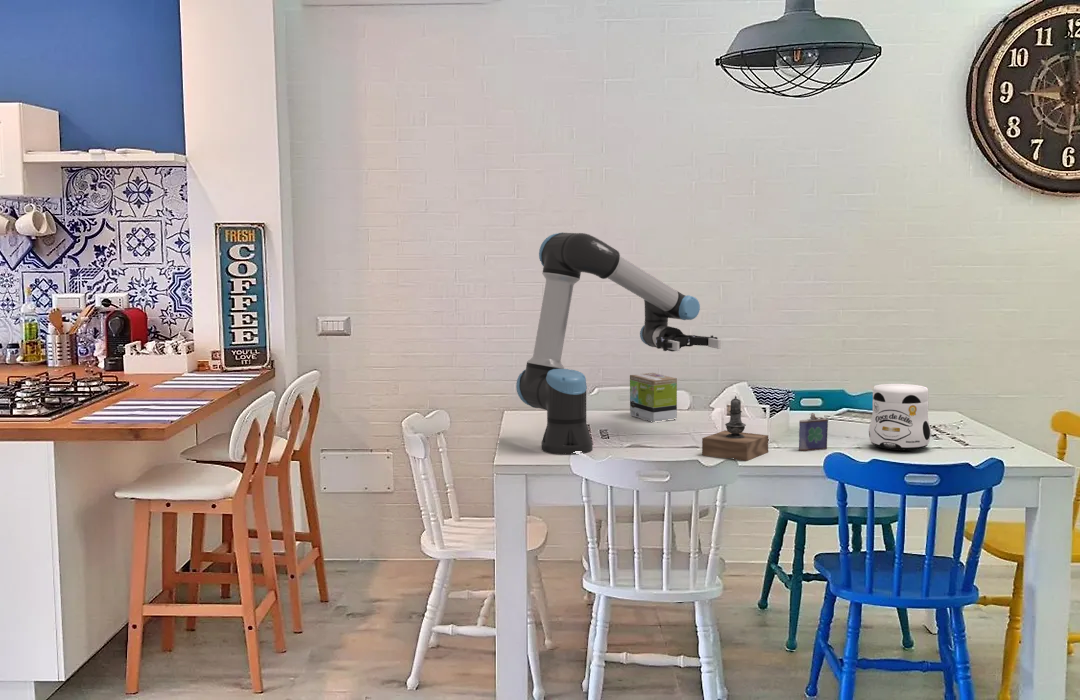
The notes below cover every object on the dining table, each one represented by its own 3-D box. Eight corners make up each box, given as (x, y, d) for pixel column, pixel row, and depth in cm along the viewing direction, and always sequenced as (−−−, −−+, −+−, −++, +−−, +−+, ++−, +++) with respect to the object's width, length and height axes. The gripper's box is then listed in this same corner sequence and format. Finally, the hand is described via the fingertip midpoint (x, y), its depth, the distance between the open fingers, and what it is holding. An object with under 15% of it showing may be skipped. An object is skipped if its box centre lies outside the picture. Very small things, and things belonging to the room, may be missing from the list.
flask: (801, 451, 322) (802, 415, 321) (796, 449, 325) (796, 413, 324) (829, 449, 325) (829, 413, 324) (823, 447, 328) (824, 411, 327)
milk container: (879, 454, 317) (881, 392, 315) (860, 442, 334) (862, 383, 332) (939, 453, 317) (941, 391, 315) (917, 441, 334) (919, 382, 332)
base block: (746, 461, 310) (746, 443, 310) (702, 455, 319) (702, 438, 318) (768, 452, 321) (768, 435, 321) (724, 446, 330) (724, 430, 329)
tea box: (628, 416, 383) (628, 374, 381) (653, 413, 387) (653, 372, 386) (653, 423, 370) (653, 379, 368) (678, 420, 374) (678, 377, 372)
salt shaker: (731, 433, 324) (731, 393, 322) (749, 436, 320) (749, 395, 318) (721, 437, 319) (721, 395, 318) (739, 439, 315) (739, 397, 314)
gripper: (704, 348, 355) (736, 355, 335) (632, 352, 347) (660, 360, 327) (704, 325, 354) (736, 331, 334) (632, 328, 346) (660, 334, 326)
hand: (699, 345), depth 330 cm, fingers open, 13 cm apart
